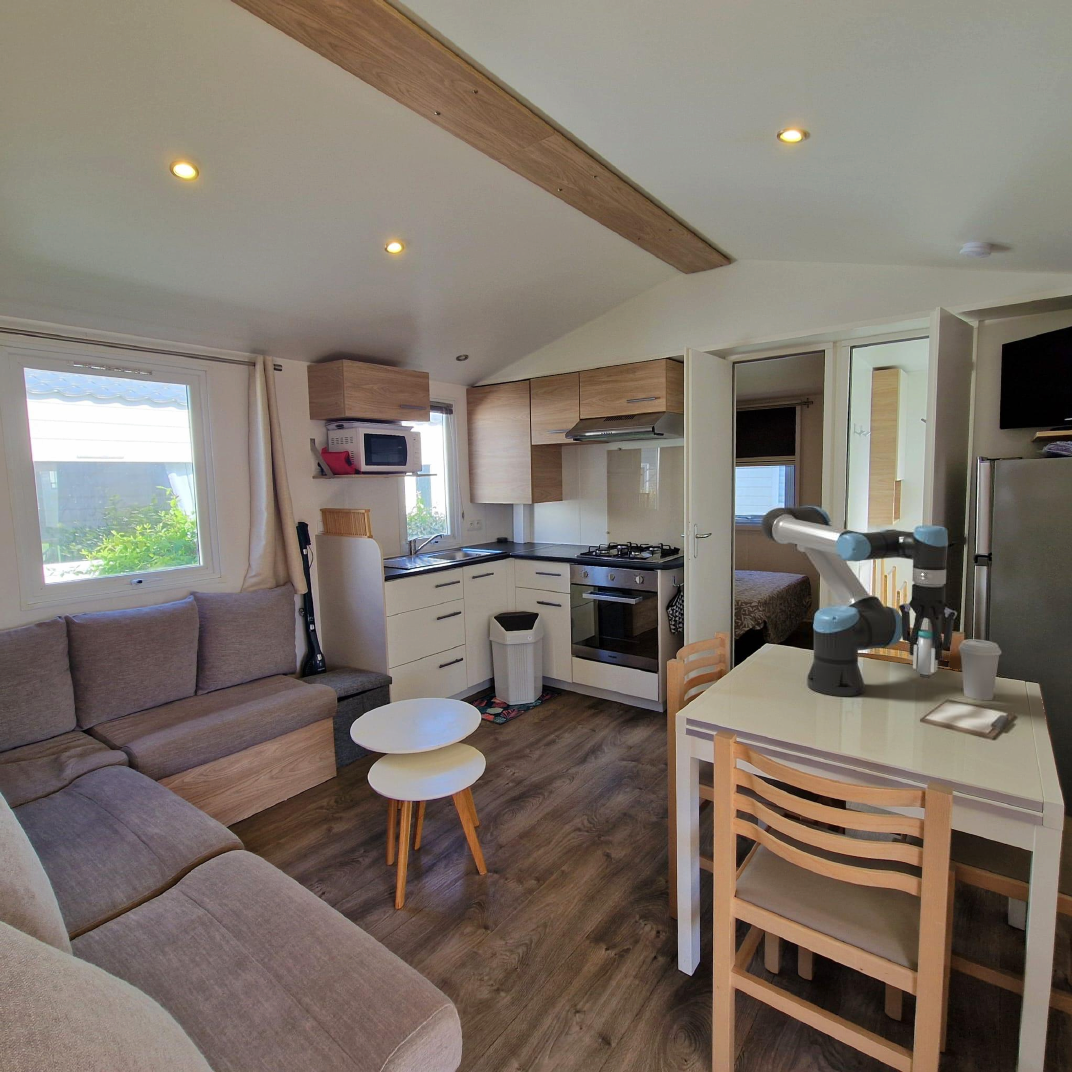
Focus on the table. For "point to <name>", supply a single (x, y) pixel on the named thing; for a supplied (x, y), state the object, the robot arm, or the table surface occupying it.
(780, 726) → the table surface
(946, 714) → the clipboard
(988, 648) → the coffee cup
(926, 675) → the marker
